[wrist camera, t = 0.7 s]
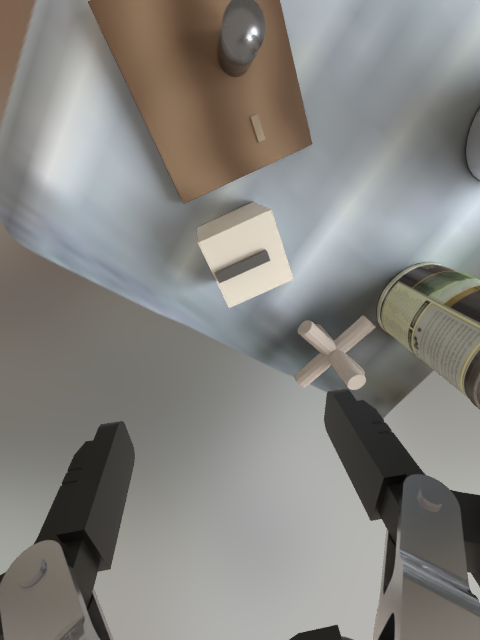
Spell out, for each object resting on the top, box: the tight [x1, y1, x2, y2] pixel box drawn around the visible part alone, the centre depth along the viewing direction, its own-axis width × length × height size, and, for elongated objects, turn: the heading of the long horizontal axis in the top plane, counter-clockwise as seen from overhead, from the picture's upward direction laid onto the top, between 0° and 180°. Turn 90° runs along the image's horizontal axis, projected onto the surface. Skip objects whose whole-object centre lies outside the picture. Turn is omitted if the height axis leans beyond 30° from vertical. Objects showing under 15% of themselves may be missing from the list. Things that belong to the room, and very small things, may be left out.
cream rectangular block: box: [196, 202, 294, 308], centre depth 25 cm, size 6×6×8 cm
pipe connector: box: [294, 316, 376, 390], centre depth 30 cm, size 10×10×10 cm
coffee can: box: [377, 262, 480, 409], centre depth 29 cm, size 10×10×14 cm
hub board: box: [88, 0, 312, 204], centre depth 21 cm, size 12×13×2 cm
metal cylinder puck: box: [217, 0, 265, 77], centre depth 18 cm, size 3×3×4 cm
